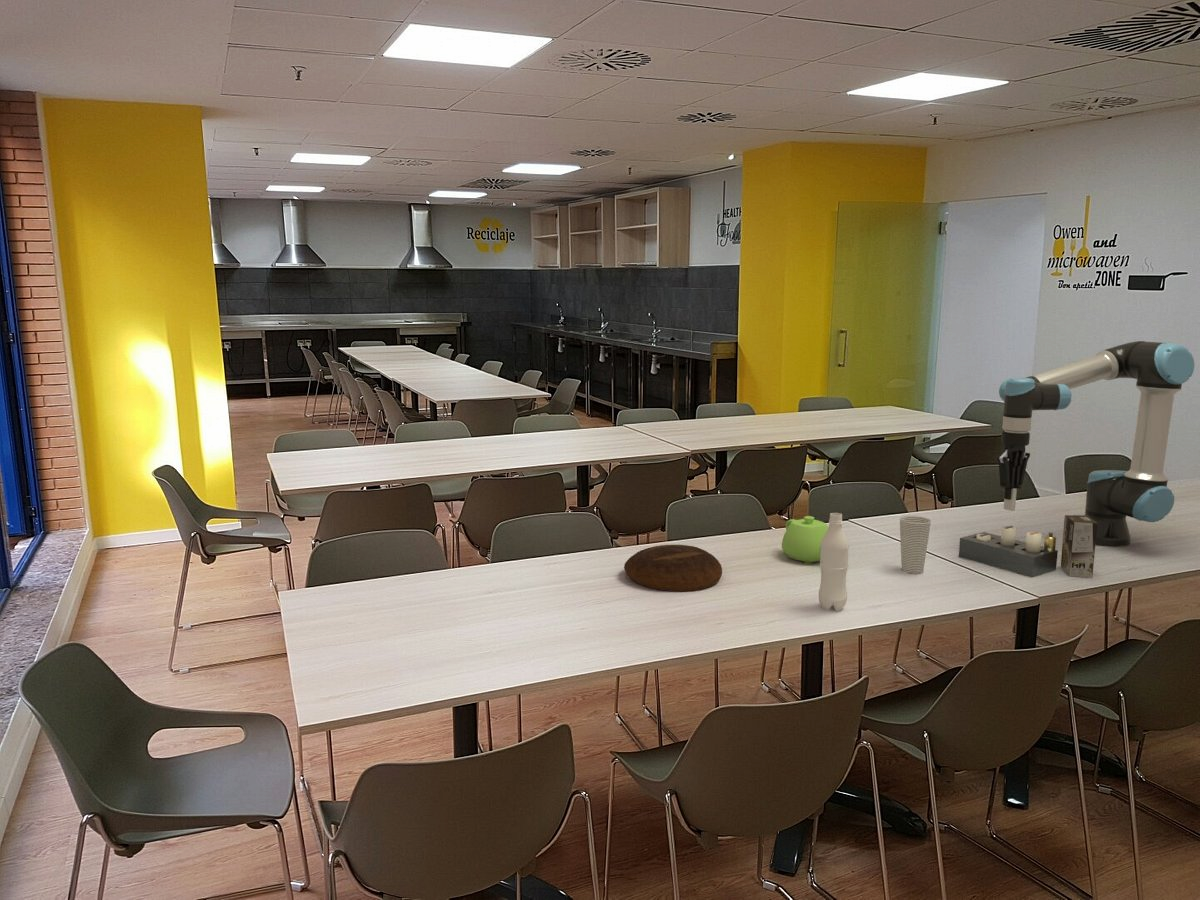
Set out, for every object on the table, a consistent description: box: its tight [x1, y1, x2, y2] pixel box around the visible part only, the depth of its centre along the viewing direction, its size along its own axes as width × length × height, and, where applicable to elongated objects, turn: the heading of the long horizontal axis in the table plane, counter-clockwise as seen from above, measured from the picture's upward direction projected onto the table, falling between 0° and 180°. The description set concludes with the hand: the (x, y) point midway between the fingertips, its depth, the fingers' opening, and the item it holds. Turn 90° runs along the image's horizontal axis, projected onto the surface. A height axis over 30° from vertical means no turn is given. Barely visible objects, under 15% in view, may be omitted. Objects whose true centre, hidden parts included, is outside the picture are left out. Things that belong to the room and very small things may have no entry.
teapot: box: [781, 515, 829, 565], centre depth 273 cm, size 22×15×13 cm
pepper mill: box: [1043, 531, 1057, 552], centre depth 260 cm, size 3×3×5 cm
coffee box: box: [1060, 514, 1098, 578], centre depth 258 cm, size 9×6×16 cm
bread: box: [623, 544, 723, 592], centre depth 258 cm, size 28×27×9 cm
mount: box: [958, 531, 1059, 578], centre depth 268 cm, size 12×24×6 cm, turn 33°
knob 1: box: [976, 533, 991, 541], centre depth 274 cm, size 4×4×7 cm
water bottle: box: [818, 512, 850, 611], centre depth 231 cm, size 7×7×25 cm
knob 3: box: [1025, 531, 1043, 554], centre depth 260 cm, size 4×4×7 cm
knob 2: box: [1000, 525, 1017, 547], centre depth 267 cm, size 4×4×7 cm
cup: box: [899, 515, 931, 575], centre depth 260 cm, size 8×8×16 cm
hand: (1009, 509), depth 265 cm, fingers closed
